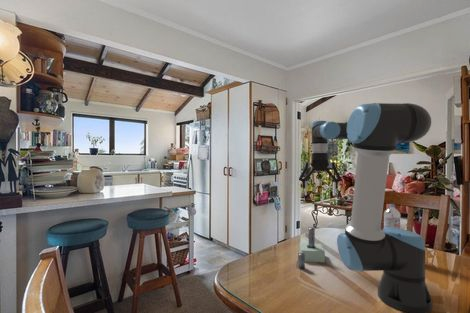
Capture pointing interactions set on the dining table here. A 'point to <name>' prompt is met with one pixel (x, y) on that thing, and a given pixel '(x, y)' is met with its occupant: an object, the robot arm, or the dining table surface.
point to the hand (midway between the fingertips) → (319, 195)
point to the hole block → (313, 253)
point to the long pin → (311, 237)
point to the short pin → (301, 260)
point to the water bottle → (392, 217)
